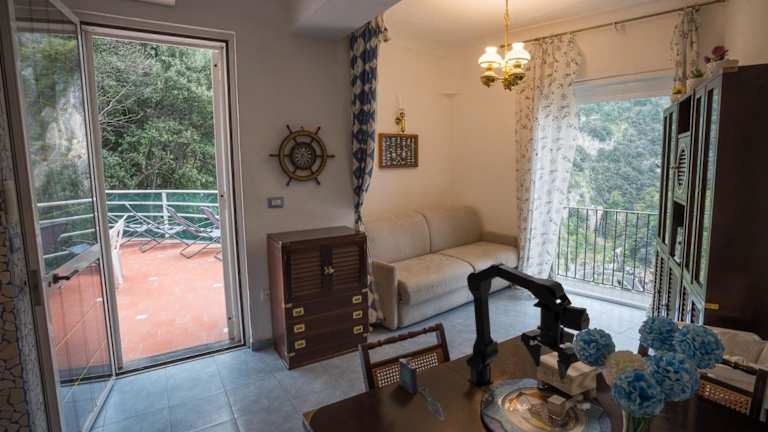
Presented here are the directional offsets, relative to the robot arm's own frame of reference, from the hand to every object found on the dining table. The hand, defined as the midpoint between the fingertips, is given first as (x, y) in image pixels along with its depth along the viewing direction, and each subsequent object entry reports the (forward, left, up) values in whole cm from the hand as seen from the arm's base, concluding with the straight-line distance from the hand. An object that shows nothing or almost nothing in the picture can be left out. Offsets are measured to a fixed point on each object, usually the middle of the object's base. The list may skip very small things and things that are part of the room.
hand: (549, 372), depth 123 cm
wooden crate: (+13, +5, -12) cm, 18 cm away
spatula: (+6, -2, -12) cm, 13 cm away
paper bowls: (+28, +11, -12) cm, 33 cm away
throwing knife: (-29, +21, -12) cm, 38 cm away
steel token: (+10, -4, -12) cm, 16 cm away
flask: (-31, +33, -12) cm, 47 cm away
